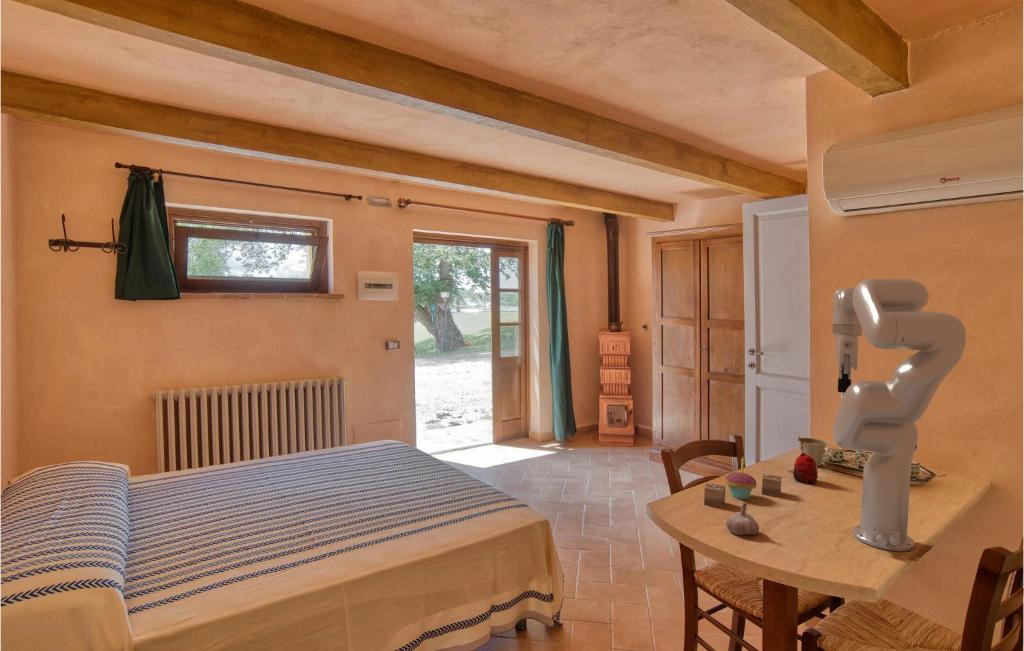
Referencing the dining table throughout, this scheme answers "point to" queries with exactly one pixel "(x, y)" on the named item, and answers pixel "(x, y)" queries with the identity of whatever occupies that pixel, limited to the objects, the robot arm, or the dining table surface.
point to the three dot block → (714, 495)
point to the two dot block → (771, 485)
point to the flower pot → (813, 448)
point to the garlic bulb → (742, 523)
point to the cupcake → (740, 483)
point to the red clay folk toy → (805, 468)
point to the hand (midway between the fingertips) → (843, 392)
